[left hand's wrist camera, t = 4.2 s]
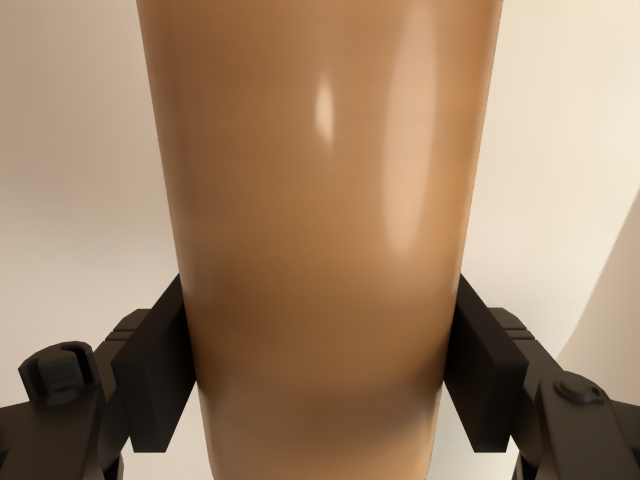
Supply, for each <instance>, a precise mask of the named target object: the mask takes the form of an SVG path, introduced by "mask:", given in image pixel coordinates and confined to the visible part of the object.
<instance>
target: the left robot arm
mask: <svg viewBox="0 0 640 480" xmlns="http://www.w3.org/2000/svg"><path fill="white" fill-rule="evenodd" d="M18 371H19V374H20V376H21V379H22V381H23V384H24V387H25V389H26V392H27V395H28V397H29V400H30V401H28V402H25V403H20V404H16V405H11V406H7V407H2V408H0V480H123V470H124V464H123V458H122V454H121V450H122V448H123V447H124V445H125V443H126V441H127V439H128V438H129V436H130V439H131V443H132V447H133V451H134V453H165V452H166V450H167V447H168V445H169V443H170V440H171V438H172V436H173V433H174V431H175V429H176V426H177V424H178V422H179V419H180V417H181V415H182V412H183V410H184V408H185V405H186V403H187V401H188V398H189V396H190V394H191V391H192V389H193V386H194V384H195V382H196V375H195V369H194V362H193V356H192V350H191V343H190V337H189V331H188V324H187V318H186V312H185V305H184V299H183V293H182V286H181V280H180V274H178V275H177V276H176V277H175V279H174V280H173V281H172V283H171V284H170V285H169V287H168V288H167V289H166V290H165V292H164V293H163V294H162V296H161V297H160V298H159V299H158V301H157V302H156V303H155V305H154V306H153V307H152V309H137V310H135V311H134V312H132V313H131V314H129V315H127V316H126V317H124V318H123V319H122V320H121V321H120V322H119V323H118V325H117V326H116V327H115V328H114V329H113V332H111V333H110V334H109V335H108V336H107V337H106V338H105V341H103V342H102V343H101V344H100V345H99V347H98V348H97V349H96V350H95V351H94V352H93V351H92V348H91V346H90V345H88V344H87V343H85V342H79V341H71V342H62V343H59V344H56V345H52V346H49V347H47V348H45V349H42V350H40V351H38V352H36V353H35V354H33V355H32V356H30V357H29V358H28V359H26V360H25V361H24V362H23V363H22V364H21V366H20V367H19V368H18ZM443 380H444V382H445V385H446V387H447V389H448V392H449V394H450V396H451V399H452V401H453V403H454V406H455V408H456V411H457V413H458V415H459V418H460V420H461V422H462V425H463V427H464V429H465V432H466V434H467V436H468V439H469V441H470V443H471V446H472V448H473V450H474V453H506V450H507V446H508V442H509V438H510V434H511V436H512V438H513V440H514V442H515V443H516V445H517V447H518V449H519V454H518V458H517V462H516V465H515V469H514V472H513V476H512V479H511V480H640V406H636V405H631V404H627V403H623V402H618V401H614V400H610V398H609V397H608V396H607V394H606V393H605V391H604V390H603V389H601V388H600V387H599V386H598V385H596V384H595V383H594V382H592V381H590V380H589V379H587V378H585V377H583V376H581V375H578V374H575V373H572V372H569V371H564V370H563V369H562V368H561V367H560V366H559V365H558V364H557V362H556V361H555V360H554V359H553V358H552V357H551V356H550V354H549V353H548V352H547V351H546V350H545V349H544V347H543V346H542V345H541V344H540V343H539V342H538V341H537V340H535V337H534V336H533V335H532V334H531V333H530V331H529V330H527V328H526V327H525V326H524V324H523V323H522V322H521V321H520V320H519V319H518V318H517V317H516V316H514V315H513V314H511V313H510V312H508V311H507V310H505V309H503V308H487V306H486V305H485V304H484V302H483V301H482V300H481V299H480V297H479V296H478V295H477V293H476V292H475V291H474V289H473V288H472V287H471V286H470V284H469V283H468V282H467V280H466V279H465V278H464V276H463V275H462V274H461V273H460V277H459V284H458V290H457V296H456V303H455V309H454V315H453V322H452V328H451V334H450V341H449V347H448V353H447V360H446V366H445V373H444V379H443Z"/></svg>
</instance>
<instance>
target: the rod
mask: <svg viewBox="0 0 640 480" xmlns="http://www.w3.org/2000/svg"><path fill="white" fill-rule="evenodd" d="M136 2H137V8H138V14H139V21H140V27H141V33H142V40H143V46H144V52H145V59H146V65H147V71H148V78H149V84H150V90H151V97H152V103H153V109H154V116H155V122H156V128H157V135H158V141H159V147H160V154H161V160H162V166H163V173H164V179H165V185H166V191H167V198H168V204H169V210H170V217H171V223H172V229H173V236H174V242H175V248H176V255H177V261H178V267H179V274H180V280H181V286H182V293H183V299H184V305H185V312H186V318H187V324H188V331H189V337H190V343H191V350H192V356H193V362H194V369H195V375H196V381H197V388H198V394H199V400H200V406H201V413H202V419H203V425H204V432H205V438H206V444H207V451H208V457H209V463H210V467H211V471H212V475H213V478H214V480H425V479H426V477H427V474H428V470H429V466H430V461H431V455H432V449H433V442H434V436H435V430H436V423H437V417H438V411H439V404H440V398H441V392H442V385H443V379H444V373H445V366H446V360H447V353H448V347H449V341H450V334H451V328H452V322H453V315H454V309H455V303H456V296H457V290H458V284H459V277H460V271H461V265H462V258H463V252H464V246H465V239H466V233H467V227H468V220H469V214H470V208H471V201H472V195H473V189H474V182H475V176H476V170H477V163H478V157H479V151H480V144H481V138H482V131H483V125H484V119H485V112H486V106H487V100H488V93H489V87H490V81H491V74H492V68H493V62H494V55H495V49H496V43H497V36H498V30H499V24H500V17H501V11H502V5H503V0H136Z"/></svg>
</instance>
